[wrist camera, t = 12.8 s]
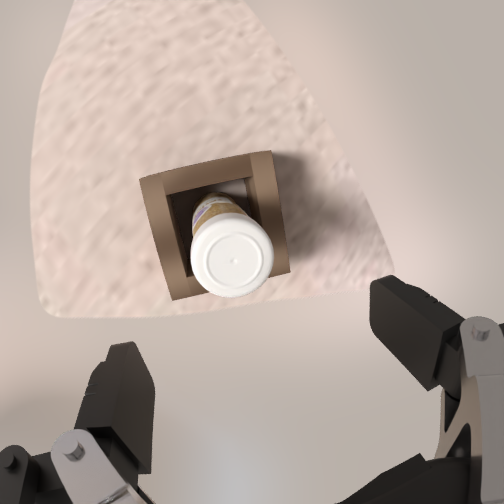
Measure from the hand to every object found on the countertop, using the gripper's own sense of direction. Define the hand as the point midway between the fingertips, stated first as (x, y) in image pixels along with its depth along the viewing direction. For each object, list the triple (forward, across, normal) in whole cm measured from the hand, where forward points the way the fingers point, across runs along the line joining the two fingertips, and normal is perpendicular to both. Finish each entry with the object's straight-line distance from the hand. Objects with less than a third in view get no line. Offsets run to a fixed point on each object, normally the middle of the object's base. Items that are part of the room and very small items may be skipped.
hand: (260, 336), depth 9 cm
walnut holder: (+20, 0, 0) cm, 20 cm away
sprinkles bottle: (+21, 0, 0) cm, 21 cm away
